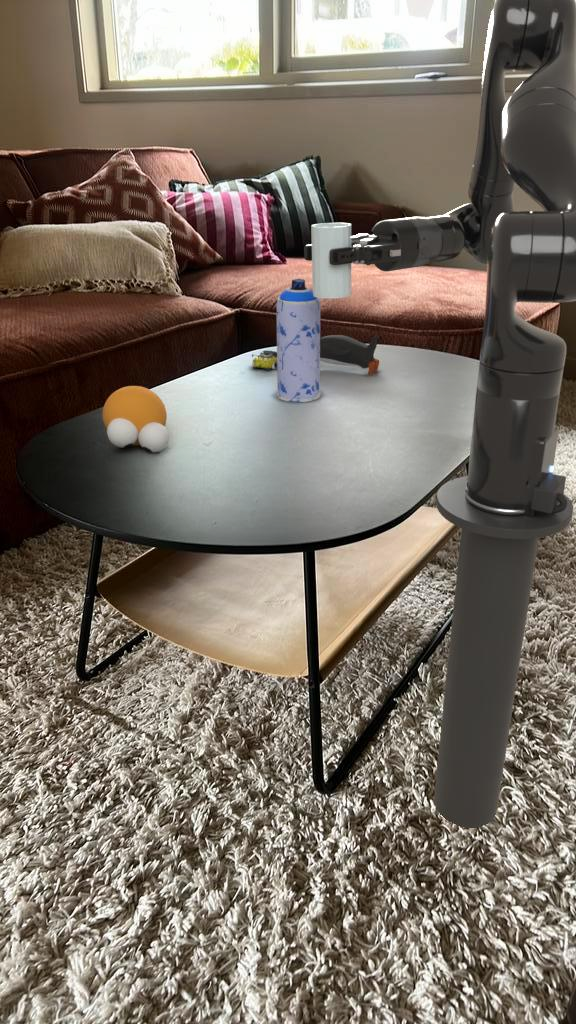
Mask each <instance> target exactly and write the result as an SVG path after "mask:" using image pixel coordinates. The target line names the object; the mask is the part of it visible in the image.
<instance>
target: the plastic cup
mask: <svg viewBox="0 0 576 1024" xmlns="http://www.w3.org/2000/svg"><path fill="white" fill-rule="evenodd" d="M310 227H311V228H310V229H311V230H310V232H311V233H310V235H311V244H312V261H311V272H312V273H311V275H312V276H311V277H312V291H313V296H314V297H316V298H319V299H323V300H324V299H325V300H328V299H329V300H332V299H333V300H334V299H343V298H348V297H350V296H352V263H349V264H342V265H331V264H330V262H329V252H330V250H331V249H336V248H344V247H351V236H352V223H349V222H322V223H315V224H311V226H310Z"/></svg>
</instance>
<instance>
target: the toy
mask: <svg viewBox="0 0 576 1024" xmlns="http://www.w3.org/2000/svg"><path fill="white" fill-rule="evenodd" d="M167 416H168V415H167V409H166V405H165V403H164V402H163V400H162V399H161V398H160V396H159V395H158V394H157V393H155V391H152V390H151V389H149V388H147V387H144V386H140V385H128V386H123V387H121V388H119V389H117V390H115V391H113V392H112V393H111V394H110V395H109V396H108V397H107V399H106V401H105V403H104V405H103V408H102V422H103V425H104V427H105V429H106V435H107V439H108V440H109V442H110V443H111V444H112V445H114V446H115V447H117V448H123V449H125V448H129V447H131V446H140V447H141V448H142V449H144V450H145V451H146V452H149V453H158V452H161V451H163V450H164V449H165V448H166V447H167V445H168V443H169V440H170V436H169V435H170V434H169V431H168V430H167V427H166V424H167Z"/></svg>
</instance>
